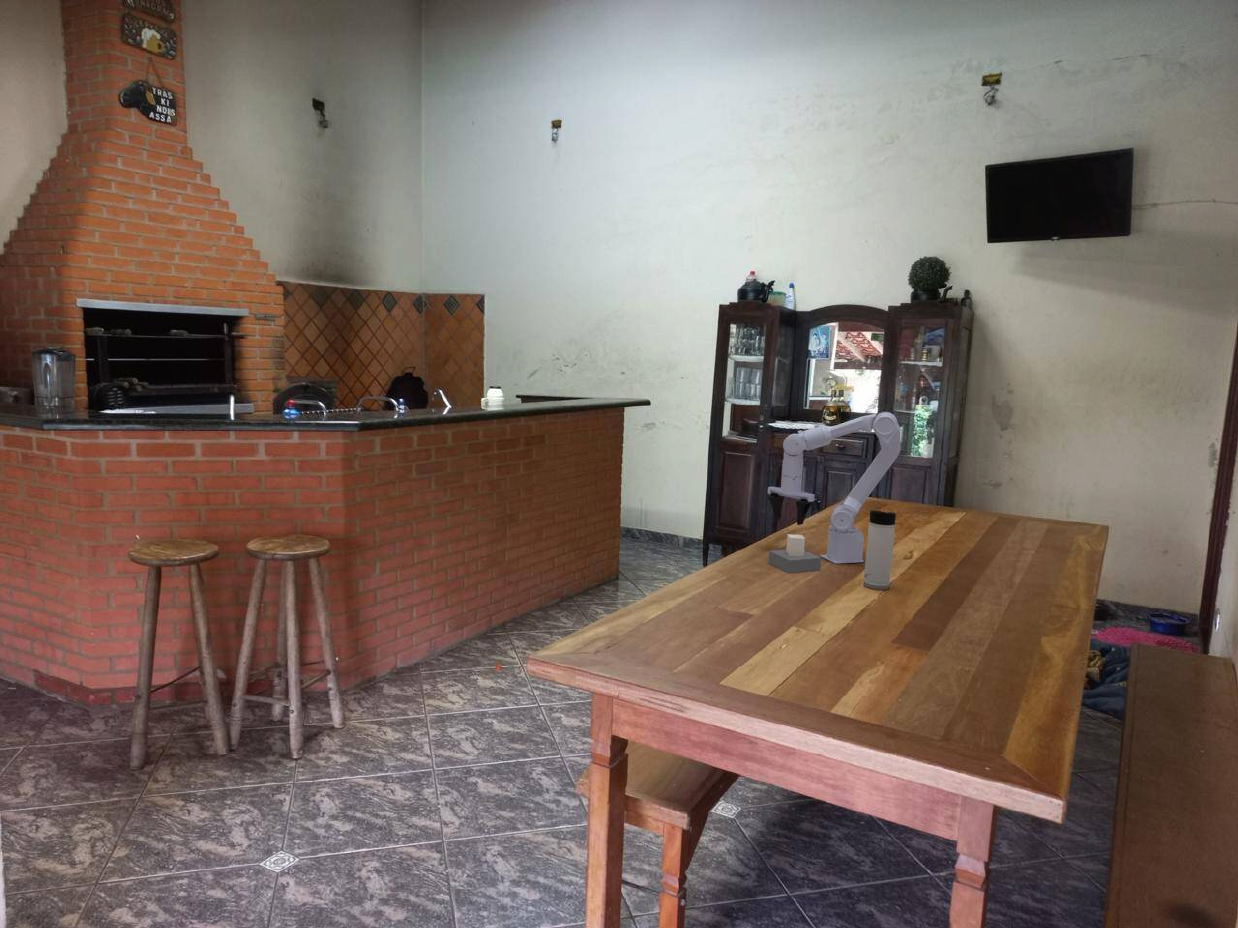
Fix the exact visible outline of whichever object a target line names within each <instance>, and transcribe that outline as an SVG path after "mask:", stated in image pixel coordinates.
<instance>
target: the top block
mask: <svg viewBox="0 0 1238 928" xmlns="http://www.w3.org/2000/svg"><path fill="white" fill-rule="evenodd" d="M786 538H787V540H786V547H785V548H786V552H787V554H788V556H802V557H804V551H805V543H806V542H805V541H806V538H805V536H803V534H788V533H787V537H786Z"/></svg>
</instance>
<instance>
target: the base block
mask: <svg viewBox="0 0 1238 928" xmlns="http://www.w3.org/2000/svg"><path fill="white" fill-rule="evenodd" d="M768 564H769V565H771V566H773V567H775V568H777V569H779V570H781V571H783V572H785V573H788V574H800V573H811V572H820V571H821V569H822V568H821V566H822V557H821V556H818V555H816V554H814V553H811V552H809V551H808V550H807V551H806V550H804V557H802V556H788V554H787V552H786V549H776V550H775V549H774V550H768Z"/></svg>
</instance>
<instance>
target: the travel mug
mask: <svg viewBox="0 0 1238 928" xmlns="http://www.w3.org/2000/svg"><path fill="white" fill-rule="evenodd" d="M869 512H870V513H869V521H868V530H867V541H866V542H867V543H866V551H865V553H866V554H865V563H864V575H863V586H864V587H865V588H868V589H871V590H875V591H877V590H878V591H885V590H888V589H889V588H890V583H891V582H890V581H891V574H892V573H891V571H892V563H893V562H892V560H893V550H894V541H895V533H896V532H895V529H896V518H897V513H895V512H891V511H888V512H886V511H881V510H874V509H873V510H870V511H869Z"/></svg>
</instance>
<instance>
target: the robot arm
mask: <svg viewBox="0 0 1238 928" xmlns="http://www.w3.org/2000/svg"><path fill="white" fill-rule="evenodd" d="M900 429H901V427H900V425H899V422H898V419H897V417H896V416H895V415H894V414H893V413H891V412H889V411H882V412H880V413H878V414H877V413H872V414H868V415H867V414H866V415H862V416H859V417H856V418H854V419H851V420H847V421H845V422H843V423H839V424H837V425H834V426H831V427H828V426H827V425H825V424H822V425H820V424H819V423H818V424H815V425H813V427H812V428H809V429H806V430H803V431H802V430H798V431H797V433H792V434H790V435H788V436H787V437H786V438H785V439H784V440H783V444H782V448H783V450H784V451H783V459H782V468H781V482H780V483H781V484H780V487H778V486H777V487H776V486H769V487H767V494H768V496H767V499H768V500H769V503H770V505H771V508H772V513H773V516H774V517H773V518H774V520H775V521H778V520H781V517H782V510H783V509H782V507H783V503H784V500H785V497H786V498H792V499H796V500H795V503H796V515H797V516H796V525H797V526H800V525H804V522H805V519H806V515H807V513H808V511H809V510H810V508H811V506H812V505H813V503H814V502H815V496H816V494H815V493H814V494H813V493H810V492H806V491H803V490H802V483H803V472H804V471H803V469H804V459H803V458H804V451H811V450H815V449H818V448H821V447H824V446H825V447H826V446H827V445H830V443H831V442H832V440H833V439H834V438H838V437H842V436H846V435H850V434H853V433H856V432H866V433H869V434H871V433H872V430H873V432H874V433H875V435H876V436H877V438H878V439H879V444H880V445H879V446H880V451H879V452H878V453H877V455H876V457H874V459H873V461H872V462H871V463H870V465H869V466H868V468H866V470H865V472H864V473H863V474H862V476H860V479H859V480H858V481H857V483H855V486H854V487H853V488H852V489H851V491H850V492H849V494H848V495H847V496H846V497H845V498H844V500H843V501H842V502H841V503H839V504H837V505H835V506H834V508H833V509H832V510H833V511H832V513H831V515H830V525H829V526H828V532H827V533H828V536H827V547H826V554H820V556H819V557H821V558H822V559H825V560H827V561H829V562H831V563H833V564H838V565H839V564H850V563H851V564H852V563H855V564H856V563H864V559H863V552H864V543H865V541H864V540H865V539H864V533H863V532H862V530H860V529H858V528H856V527H854V522H855V518H856V516H857V514H858V512H859V511H860V509H861V507H862V506H863V505H864V503H865V502H866V500H867V499H868V497H870V494H872V492H873V491H874V489H875V488H876V486H877V485H878V484H879V483H880V481H881V480H882V478H883V477H884V475H886V473H887V472H888V470H889V469H890V467H891V466H892V465H893V463H894V462H895V460H896V459H897V458H898V456H900V453H901V430H900Z"/></svg>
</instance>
